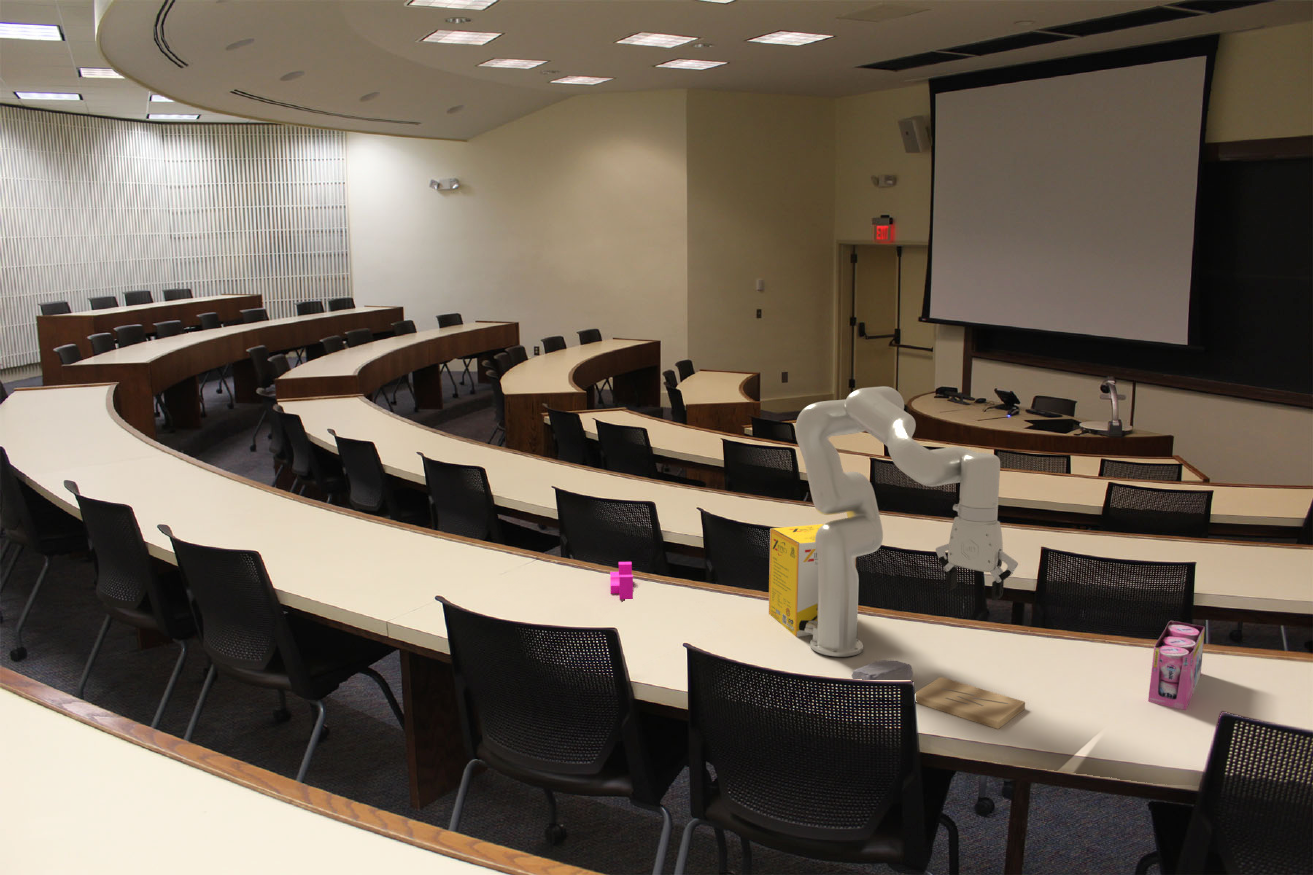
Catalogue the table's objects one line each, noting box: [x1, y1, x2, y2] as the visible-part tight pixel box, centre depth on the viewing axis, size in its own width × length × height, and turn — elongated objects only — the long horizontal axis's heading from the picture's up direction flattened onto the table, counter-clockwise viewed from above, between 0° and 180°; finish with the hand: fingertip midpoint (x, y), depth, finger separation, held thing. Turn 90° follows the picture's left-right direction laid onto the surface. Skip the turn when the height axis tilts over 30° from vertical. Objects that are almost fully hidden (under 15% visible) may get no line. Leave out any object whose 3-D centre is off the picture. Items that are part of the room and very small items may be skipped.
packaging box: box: [768, 523, 857, 638], centre depth 248 cm, size 16×16×25 cm
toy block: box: [609, 561, 634, 600], centre depth 276 cm, size 15×6×8 cm, turn 3°
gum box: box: [1147, 620, 1206, 711], centre depth 208 cm, size 22×7×13 cm, turn 143°
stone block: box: [851, 659, 914, 681], centre depth 213 cm, size 12×5×10 cm
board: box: [915, 676, 1026, 730], centre depth 202 cm, size 19×13×2 cm
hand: (973, 594), depth 199 cm, fingers open, 9 cm apart
